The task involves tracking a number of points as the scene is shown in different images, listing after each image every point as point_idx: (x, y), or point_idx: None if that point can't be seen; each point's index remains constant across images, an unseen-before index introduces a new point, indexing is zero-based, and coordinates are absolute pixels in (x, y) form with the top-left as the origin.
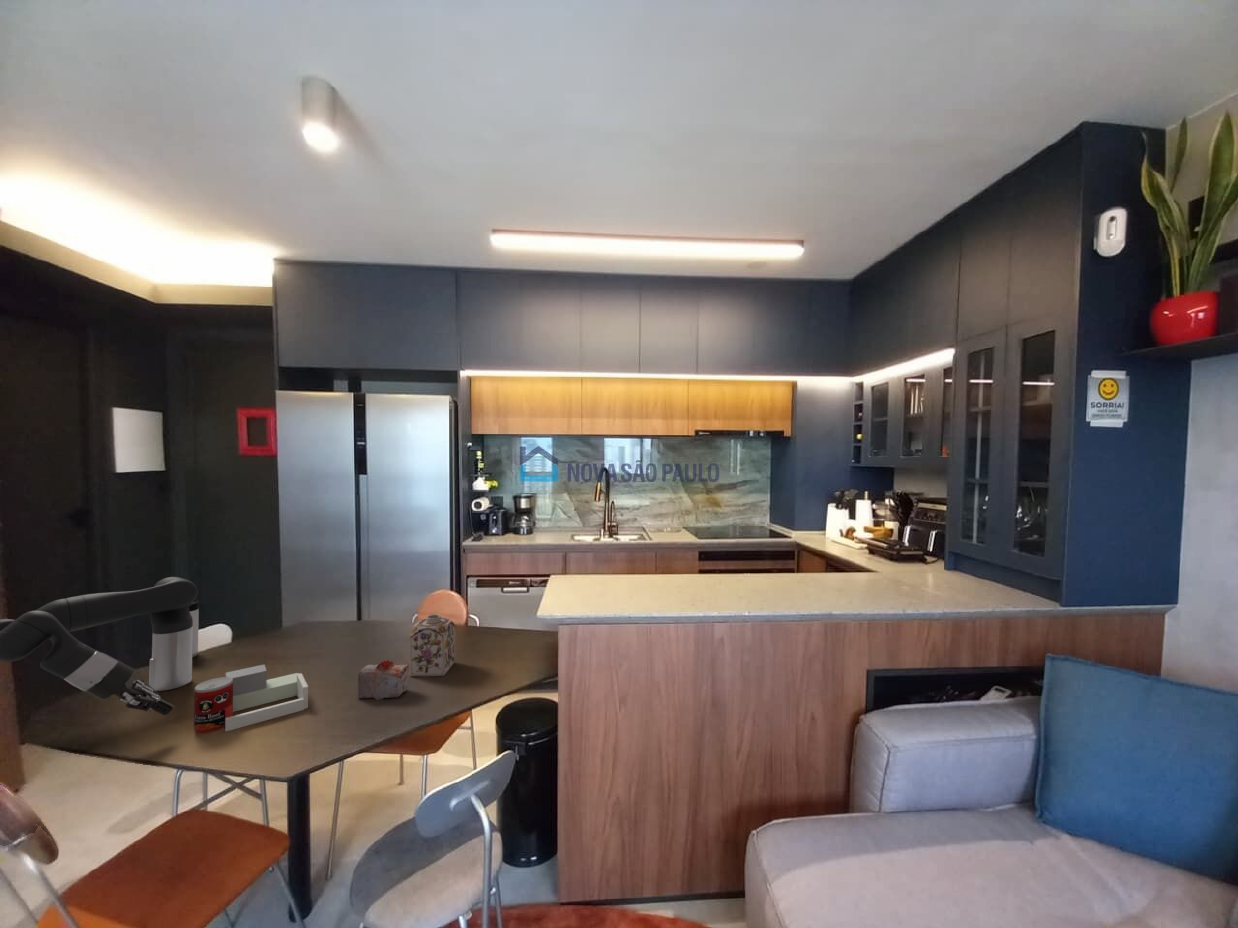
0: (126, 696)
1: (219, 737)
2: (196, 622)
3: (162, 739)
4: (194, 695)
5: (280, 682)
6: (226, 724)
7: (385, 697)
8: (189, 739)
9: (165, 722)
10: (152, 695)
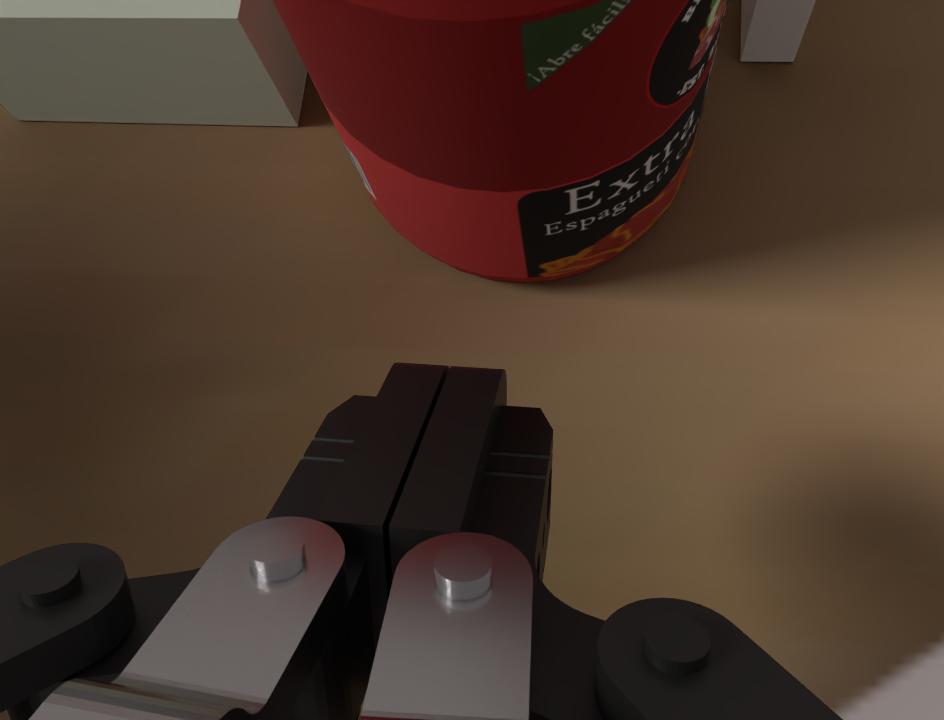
0: None
1: (906, 111)
2: None
3: None
4: (497, 24)
5: None
6: (808, 5)
7: None
8: (731, 338)
9: (29, 510)
10: (389, 701)
